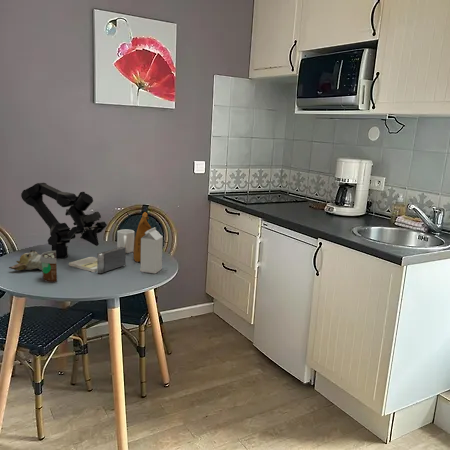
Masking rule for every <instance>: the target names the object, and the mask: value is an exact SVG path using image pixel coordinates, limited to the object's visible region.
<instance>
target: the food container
mask: <svg viewBox="0 0 450 450" xmlns="http://www.w3.org/2000/svg"><path fill="white" fill-rule="evenodd" d="M40 255H41V256H40V261H41V262H42V269H43V270H42V278H43V281H46V282H49V283H57V282H58V275H57V274H58V273H57V269H58V267H57V258H56V251H52V250H48V251H45V252H42V253H41V254H40Z"/></svg>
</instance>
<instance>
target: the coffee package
mask: <svg viewBox="0 0 450 450" xmlns="http://www.w3.org/2000/svg"><path fill="white" fill-rule="evenodd" d="M141 216H142V217H141V218H140V220H139V222H138V225H137V229H136V232H135V235H134V250H133V252H132V253H133V255H132V256H133V260H134V261H135V262H136V263H138V262H140V263H141V238H142V237H143V236H145V232H146V231H148V230H150V229H152V228H153V227H152V226H151V225H150V224H149V222H148V220H149V219H150V218H149V216H148V213H147V212H146V211H144V212H143V213H142V214H141Z"/></svg>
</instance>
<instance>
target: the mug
mask: <svg viewBox="0 0 450 450" xmlns="http://www.w3.org/2000/svg"><path fill="white" fill-rule="evenodd" d="M116 234H117V236H116V237H117V238H116V239H117V242H116V243H117V244H116V245H117V246H116V247H117V248H119V247H124V248H126V254H131V253H133V250H134V239H135V231H134V230H133V229H128V228H127V229H125V228H124V229H119V230H117V233H116Z"/></svg>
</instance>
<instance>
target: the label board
mask: <svg viewBox="0 0 450 450" xmlns="http://www.w3.org/2000/svg"><path fill="white" fill-rule="evenodd" d="M68 266H70V267H73V268H76V269H81V270H84V271H87V272H92V273H95V272H97V257H95V256H88V257H85V258H84V257H83V258H81V259H78V260H73V261H70V262H68Z"/></svg>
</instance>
